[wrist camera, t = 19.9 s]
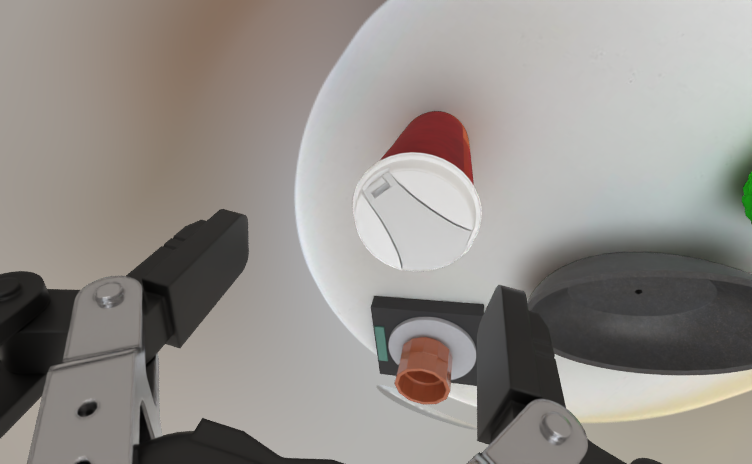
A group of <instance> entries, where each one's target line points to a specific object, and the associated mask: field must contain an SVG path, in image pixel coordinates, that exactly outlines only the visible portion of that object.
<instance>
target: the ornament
mask: <svg viewBox="0 0 752 464" xmlns="http://www.w3.org/2000/svg"><path fill="white" fill-rule="evenodd" d="M743 191H744V196H742V203H743V205H744V207H745V214H746V216H747V217H748V218H749V219H750V220H751V223H752V172H751V173H750V175H749V176H748V181H747V182H746V184H745V185H744V187H743Z"/></svg>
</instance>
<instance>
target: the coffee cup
mask: <svg viewBox="0 0 752 464" xmlns="http://www.w3.org/2000/svg"><path fill="white" fill-rule="evenodd" d="M352 206H353V216H354V220H355V225H356V229H357V232H358V234H359V237H360V239H361V241H362V242H363V244H364V245H365V247H366V248H367V249H368V250H369V252H370V253H372V254H373V255H374V256H375V257H376V258H377V259H379V260H380V261H382V262H383V263H385V264H387V265H389V266H391V267H394V268H396V269H399V270H406V271H430V270H434V269H439V268H443V267H446V266H448V265H450V264H452V263H453V262H455V261H456V260H458V259H459V258H460V257H461V256H463V255H464V254H465V253H466V252H467V251H469V249H470V247H471V245H472V243H473V241H474V239H475V238H476V236H477V234H478V231H479V228H480V225H481V218H482V210H481V203H480V198H479V195H478V193H477V191H476V189H475V187H474V184H473V174H472V164H471V155H470V146H469V140H468V136H467V132H466V130H465V128H464V126H463V125H462V123H461V122H460V121H459V120H458V119H457V118H455V117H454V116H452V115H450V114H448V113H445V112H440V111H432V112H427V113H424V114H422V115H420V116H418V117H417V118H415V119H414V120H413V121H412V122H411V123H410V124H409V125H408V126H407V128H406V129H405V130H404V131H403V132H402V134H401V135H400V136H399V138H398V139H397V140H396V141H395V143H394V144H393V145H392V147H391V148H390V149H389V150H388V151H387V152H386V154H385V155H384V156H383V157H382V158H381V160H380V161H379V162H377V163H376V164H374V165H373V166H372V167H371V168H369V169H368V170H367V171H366V172H365V174H364V175H363V176H362V178H361V179H360V180H359V182H358V185H357V187H356V189H355V192H354V196H353V204H352Z"/></svg>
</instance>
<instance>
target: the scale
mask: <svg viewBox="0 0 752 464" xmlns="http://www.w3.org/2000/svg"><path fill="white" fill-rule="evenodd" d="M371 312H372V319H373V326H374V334H375V341H376V348H377V355H378V362H379V369H380V374H387V375H395V376H396V374H397V369H398V365H399V360H400V356H401V351H402V348H403V345H404V344H405V343H406V342H408V341H410V340H411V339H413V338H418V337H429V338H433V339H436V340H438V341H440V342H441V343H442V344H443V345H445V346H446V347H447V348H448V349H449V350H450V353H451V356H452V358H453V359H452V372H451V383H458V384H466V385H474V386H477V333H478V328H479V324H480V321H481V319H482V317H483V315H484V305H482V304H469V303H456V302H443V301H430V300H417V299H404V298H391V297H378V296H374V299H373V302H372V305H371Z"/></svg>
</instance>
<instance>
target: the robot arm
mask: <svg viewBox="0 0 752 464" xmlns="http://www.w3.org/2000/svg"><path fill="white" fill-rule="evenodd" d="M248 252H249V248H248V219H247V216H246V215H243V214H240V213H236V212H232V211H228V210H225V209H221V210H219V211H218V212H217V213H215V214H214V215H213V216H212V217H211V218H210V219H209V220H207V221H204V220H200V221H197V222H195V223H193V224H190V225H188V226H185V227H184V228H183V229H182V230H181V231H179V232H178V233H177V234H176V235H175V236H174V238H173V239H172V238H171V239H170V240H169V241H167V242H166V243H165V244H164V246H163V247H160V248H159V249H158V250H157V251H155V252H154V253H153V254H152V255H151V256H149V257H148V258H147V259H146V260H145V261H144V262H142V263H141V264H140V265H139V266H137V267H136V268H135V269H134V270H133V271H131V272H130V273H129V274H128V275H126V276H110V277H105V278H102V279H99V280H96V281H94V282H92V283H90V284H88V285H87V286H85V287H84V288H83V289H82V290H58V289H47V288H46V286H45V283H44V281H43V279H42V278H41V277H40V276H39V275H37V274H35V273H32V272H24V271H19V272H9V273H4V274H0V438H1V437H2V436H3V435H4V434H5V433H6V432H7V431H8V430H9V429H10V428H11V427H12V426H13V425H14V424H15V423H16V422H17V421H18V420H19V419H20V418H21V417H22V416H23V415H24V414H25V413H26V412H27V411H28V410H29V409H30V408H31V407H32V406H33V404H35V402H36V401H37V400H38V399H39V398H40V397H41V396H42V399H41V403H40V408H39V412H38V417H37V421H36V426H35V430H34V434H33V439H32V443H31V448H30V452H29V457H28V461H27V464H344V463H341V462H338V461H335V460H328V459H298V458H283V457H281V456H279V455H277V454H276V453H274V452H273V451H271V450H270V449H269V448H267V447H266V446H264V445H263V444H261V443H260V442H258V441H257V440H256V439H254V438H253V437H251V436H250V435H248V434H247V433H245V432H244V431H241V430H238V429H235V428H231V427H229V426H226V425H222V424H219V423H216V422H213V421H210V420H207V419H204V418H202V420H201V421H200V423H199V424H198V426H197V428H196V429H195V431H186V432H177V433H173V434H167V435H163V436H162V431H161V424H160V409H159V361H158V360H159V358H158V351H159V350H160V349H161V348H162V347H163V345H165V344H168V345H171V346H174V347H177V348H181V346H182V345H183V344H184V343H185V342H186V340H187V339H188V338H189V337H190V335H191V334H192V333H193V332H194V331H195V329H196V328H197V327H198V325H199V324H200V323H201V322H202V321H203V319H204V318H205V317H206V316H207V315H208V313H209V312H210V311H211V310H212V308H213V307H214V306H215V305H216V303H217V302H218V301H219V300H220V298H221V297H222V296H223V295H224V294H225V292H226V291H227V290H228V289H229V287H230V286H231V285H232V284H233V282H234V281H235V280H236V279H237V278H238V276H239V275H240V274H241V273H242V271H243V270H244V268H245V266H246V263H247V260H248V254H249V253H248ZM551 345H552V341H551V337H550V332H549V328H548V327H547V325H546V324H545V322H544V321H543V319H542V317H541V316H540V314H539V313H536V312H532V311H529V310H528V304H527V298H526V294H525V292H524V291H520V290H517V289H513V288H509V287H506V286H502V285H498V286H497V288H496V289H495V291H494V293H493V296H492V298H491V300H490V302H489V304H488V306H487V308H486V310H485V313H484V315H483V317H482V319H481V321H480V324H479V328H478V333H477V437H478V439H477V441H479V442H483V443H486V444H489V446H488V447H487V448H486V449H485V450H484V451H483V452H482V453H478V454H476V455H475V456H474V457H473V458H472V459H471V460H470V461H469V462H468V463H467V464H626V463H625V462H622V461H621V460H619V459H618V458H616V457H614V456H613V455H611V454H609V453H608V452H606V451H604V450H603V449H601V448H599V447H598V446H596V445H595V444H593V443H592V442H591V441H589V440H588V439H587V436H586V433H585V430H584V429H583V427H582V425H581V424H580V422H579V421H578V419H577V418H576V417H575V416H574V415H573V414H572V413H571V412H570V411H569V410H567V409H566V406H565V402H564V397H563V392H562V388H561V383H560V378H559V374H558V369H557V365H556V360H555V359H554V356H555V355H554V351H553V346H551ZM630 464H661V463H660V462H657V461H655V460H652V459H648V458H638V459H636V460H634V461H633V462H632V463H630Z"/></svg>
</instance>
